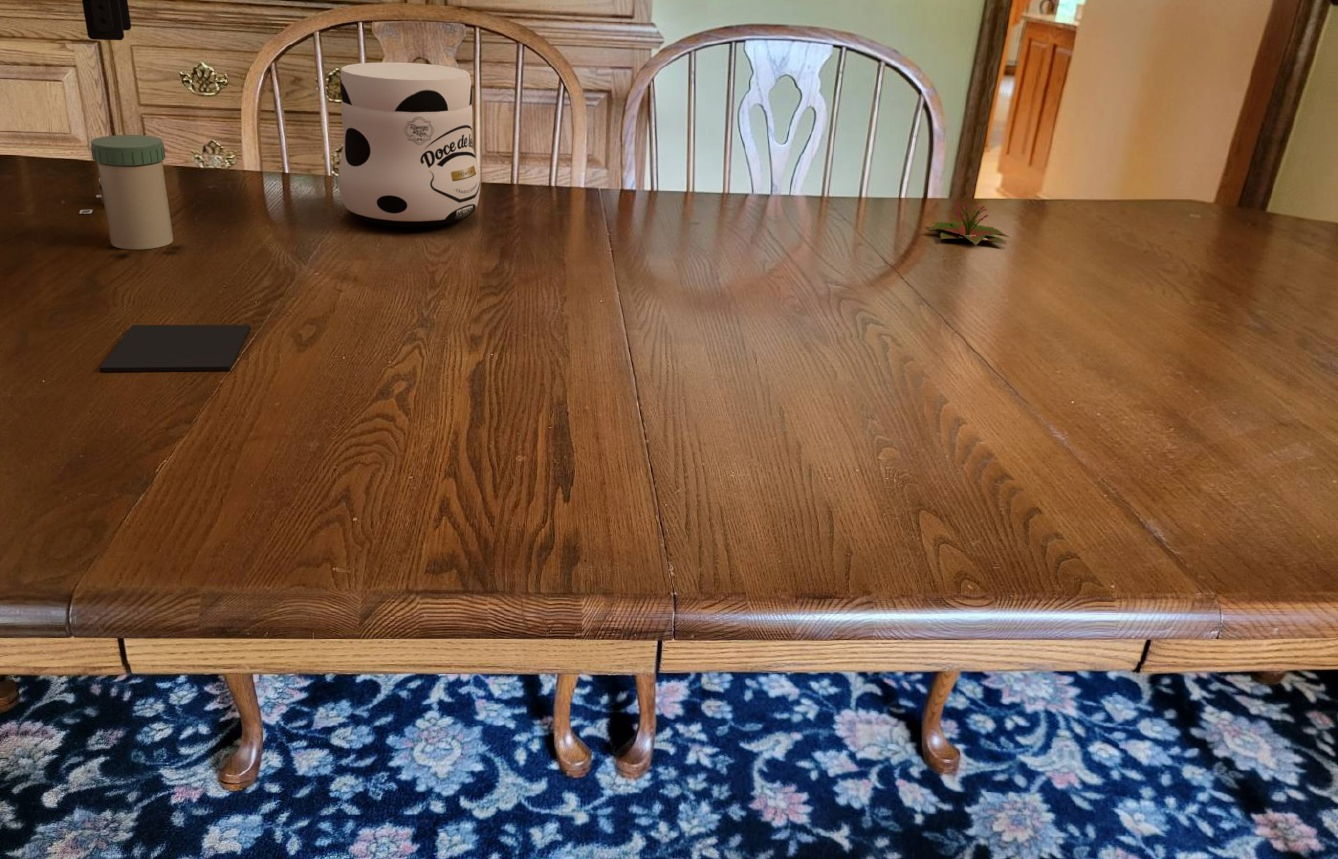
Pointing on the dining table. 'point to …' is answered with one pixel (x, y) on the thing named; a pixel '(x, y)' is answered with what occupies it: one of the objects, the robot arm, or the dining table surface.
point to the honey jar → (136, 205)
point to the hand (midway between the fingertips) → (110, 33)
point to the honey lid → (127, 150)
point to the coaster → (177, 348)
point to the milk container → (407, 144)
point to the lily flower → (968, 228)
